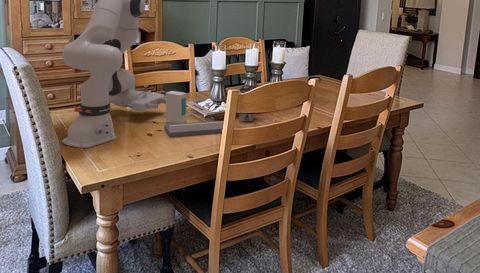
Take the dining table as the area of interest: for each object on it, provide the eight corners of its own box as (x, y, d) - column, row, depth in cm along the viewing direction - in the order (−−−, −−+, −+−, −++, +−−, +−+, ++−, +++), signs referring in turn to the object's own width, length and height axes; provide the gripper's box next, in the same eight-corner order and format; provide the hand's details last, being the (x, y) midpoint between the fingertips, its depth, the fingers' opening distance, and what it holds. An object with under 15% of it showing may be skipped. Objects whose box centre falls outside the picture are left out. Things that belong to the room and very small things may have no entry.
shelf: (170, 137, 213) (169, 126, 211) (164, 128, 224) (164, 118, 222) (225, 132, 221) (225, 121, 220) (217, 124, 232) (217, 114, 230)
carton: (180, 124, 230) (180, 95, 226) (166, 122, 233) (165, 92, 229) (186, 121, 235) (186, 93, 230) (171, 119, 238) (171, 90, 233)
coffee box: (242, 116, 246) (243, 84, 241) (255, 117, 245) (256, 85, 240) (238, 121, 238) (239, 88, 233) (251, 122, 237) (253, 89, 231)
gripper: (124, 98, 230) (149, 102, 224) (150, 89, 247) (174, 93, 242) (125, 111, 232) (150, 116, 226) (150, 102, 249) (174, 106, 244)
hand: (162, 104), depth 234 cm, fingers open, 8 cm apart
